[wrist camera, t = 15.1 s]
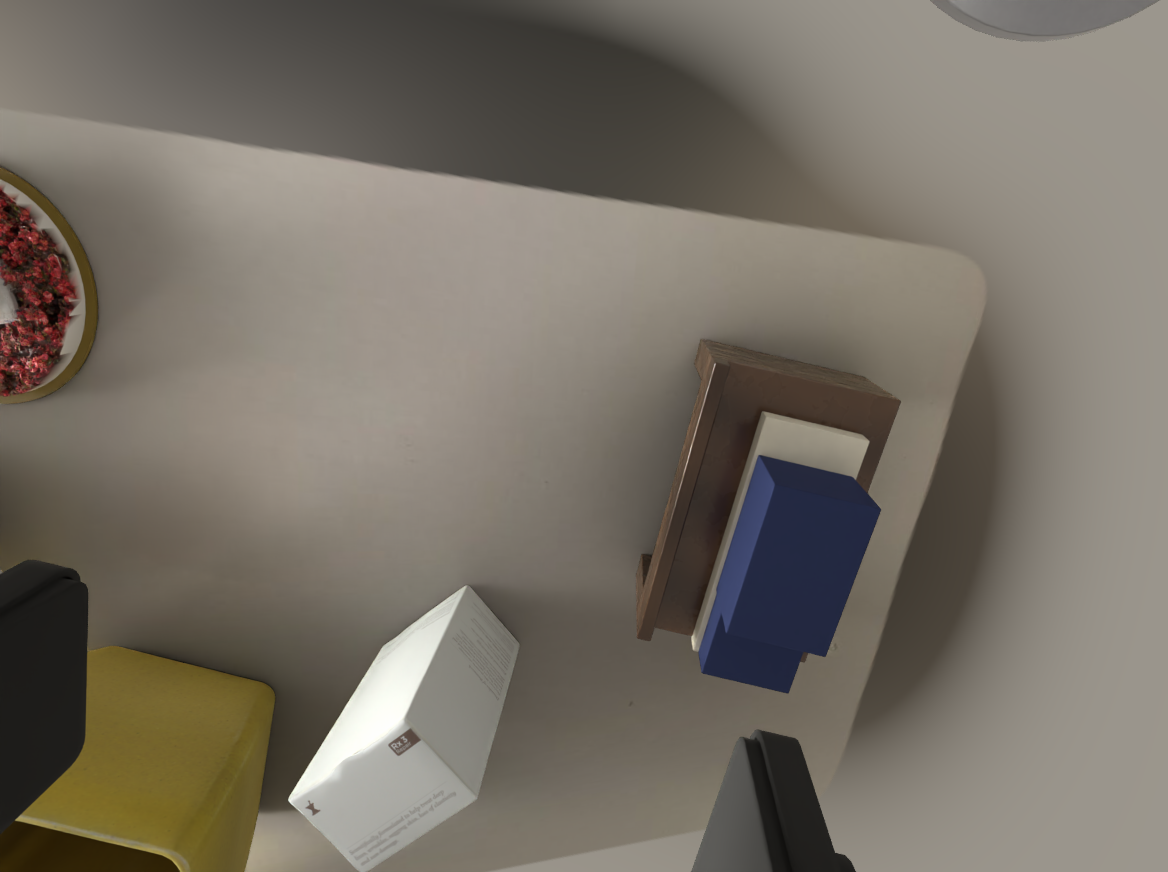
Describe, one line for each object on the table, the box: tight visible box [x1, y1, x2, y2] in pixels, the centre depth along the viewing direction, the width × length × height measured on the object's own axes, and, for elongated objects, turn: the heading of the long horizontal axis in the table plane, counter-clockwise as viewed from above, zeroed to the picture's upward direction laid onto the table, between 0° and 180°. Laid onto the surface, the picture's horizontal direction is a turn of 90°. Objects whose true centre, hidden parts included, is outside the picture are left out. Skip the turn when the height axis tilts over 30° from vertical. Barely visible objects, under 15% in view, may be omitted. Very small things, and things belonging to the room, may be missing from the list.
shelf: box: [636, 339, 901, 662], centre depth 41 cm, size 16×10×8 cm, turn 167°
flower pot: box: [0, 646, 275, 872], centre depth 45 cm, size 19×19×17 cm
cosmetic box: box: [288, 585, 520, 872], centre depth 42 cm, size 8×6×15 cm
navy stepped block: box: [692, 411, 881, 693], centre depth 36 cm, size 14×5×6 cm, turn 167°
